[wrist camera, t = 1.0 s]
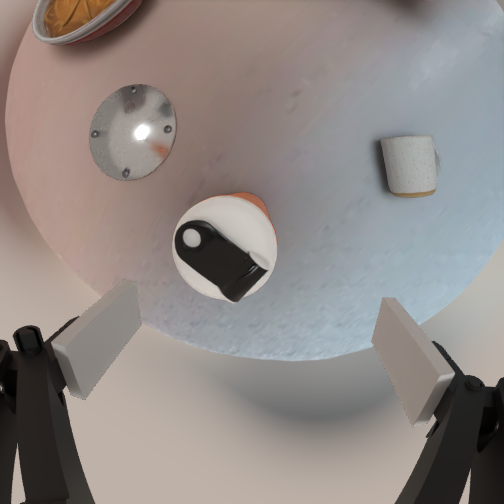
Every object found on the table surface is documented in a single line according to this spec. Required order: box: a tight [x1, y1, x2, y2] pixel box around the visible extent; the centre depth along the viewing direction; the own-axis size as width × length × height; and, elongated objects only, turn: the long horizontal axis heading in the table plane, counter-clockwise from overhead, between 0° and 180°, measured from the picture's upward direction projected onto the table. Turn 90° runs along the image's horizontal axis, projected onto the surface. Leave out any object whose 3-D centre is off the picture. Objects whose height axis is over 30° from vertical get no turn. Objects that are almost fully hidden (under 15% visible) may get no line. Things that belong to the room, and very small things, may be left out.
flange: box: [89, 84, 177, 180], centre depth 37 cm, size 15×15×1 cm
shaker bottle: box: [172, 192, 277, 303], centre depth 31 cm, size 9×9×20 cm
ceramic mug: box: [381, 135, 440, 198], centre depth 33 cm, size 11×8×8 cm
